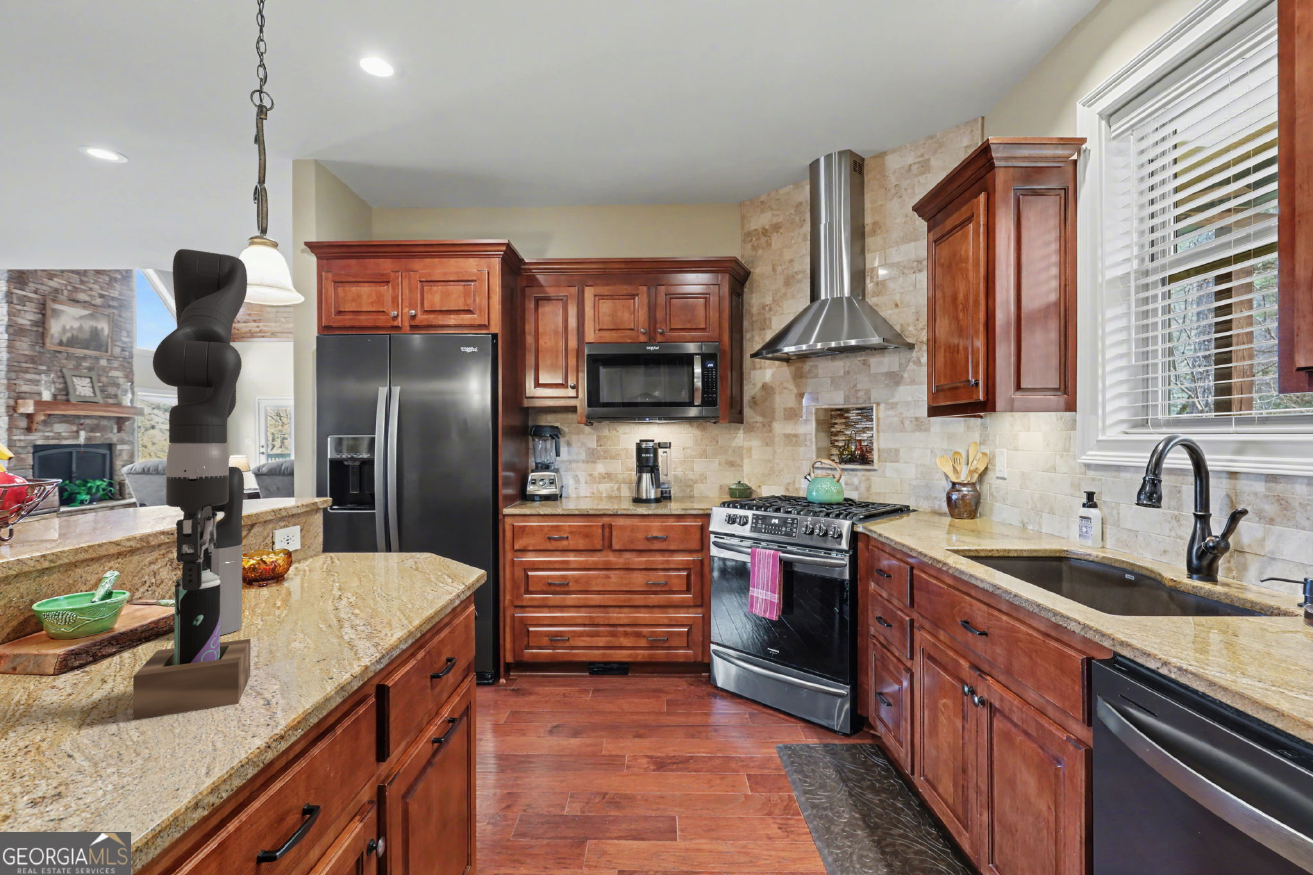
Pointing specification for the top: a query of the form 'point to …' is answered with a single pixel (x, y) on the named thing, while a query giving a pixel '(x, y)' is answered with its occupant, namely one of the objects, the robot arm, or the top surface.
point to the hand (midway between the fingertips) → (197, 584)
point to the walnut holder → (191, 682)
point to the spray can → (197, 621)
